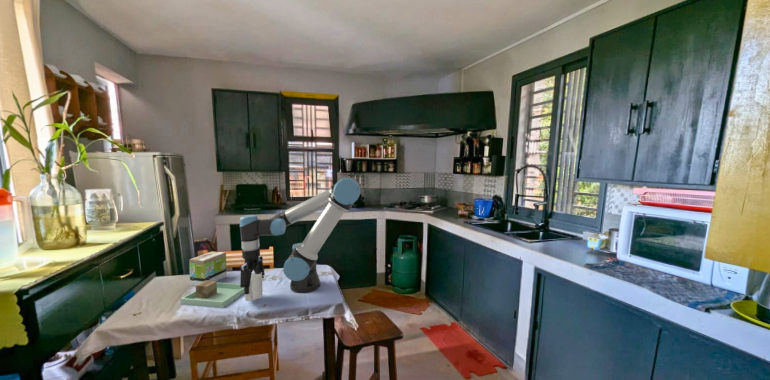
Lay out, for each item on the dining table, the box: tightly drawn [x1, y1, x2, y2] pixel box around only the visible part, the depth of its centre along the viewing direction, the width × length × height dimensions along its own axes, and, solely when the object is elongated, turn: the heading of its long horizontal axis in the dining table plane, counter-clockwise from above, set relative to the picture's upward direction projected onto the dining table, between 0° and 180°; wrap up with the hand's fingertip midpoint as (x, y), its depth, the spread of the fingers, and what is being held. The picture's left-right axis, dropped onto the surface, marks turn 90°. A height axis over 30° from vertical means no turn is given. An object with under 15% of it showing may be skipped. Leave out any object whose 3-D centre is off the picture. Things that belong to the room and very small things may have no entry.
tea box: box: [188, 250, 228, 287], centre depth 153 cm, size 15×10×15 cm
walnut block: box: [195, 281, 217, 299], centre depth 136 cm, size 6×6×6 cm
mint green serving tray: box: [179, 281, 245, 308], centre depth 135 cm, size 22×19×3 cm
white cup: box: [250, 272, 263, 301], centre depth 132 cm, size 8×8×10 cm
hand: (254, 295), depth 132 cm, fingers closed on white cup, 8 cm apart
